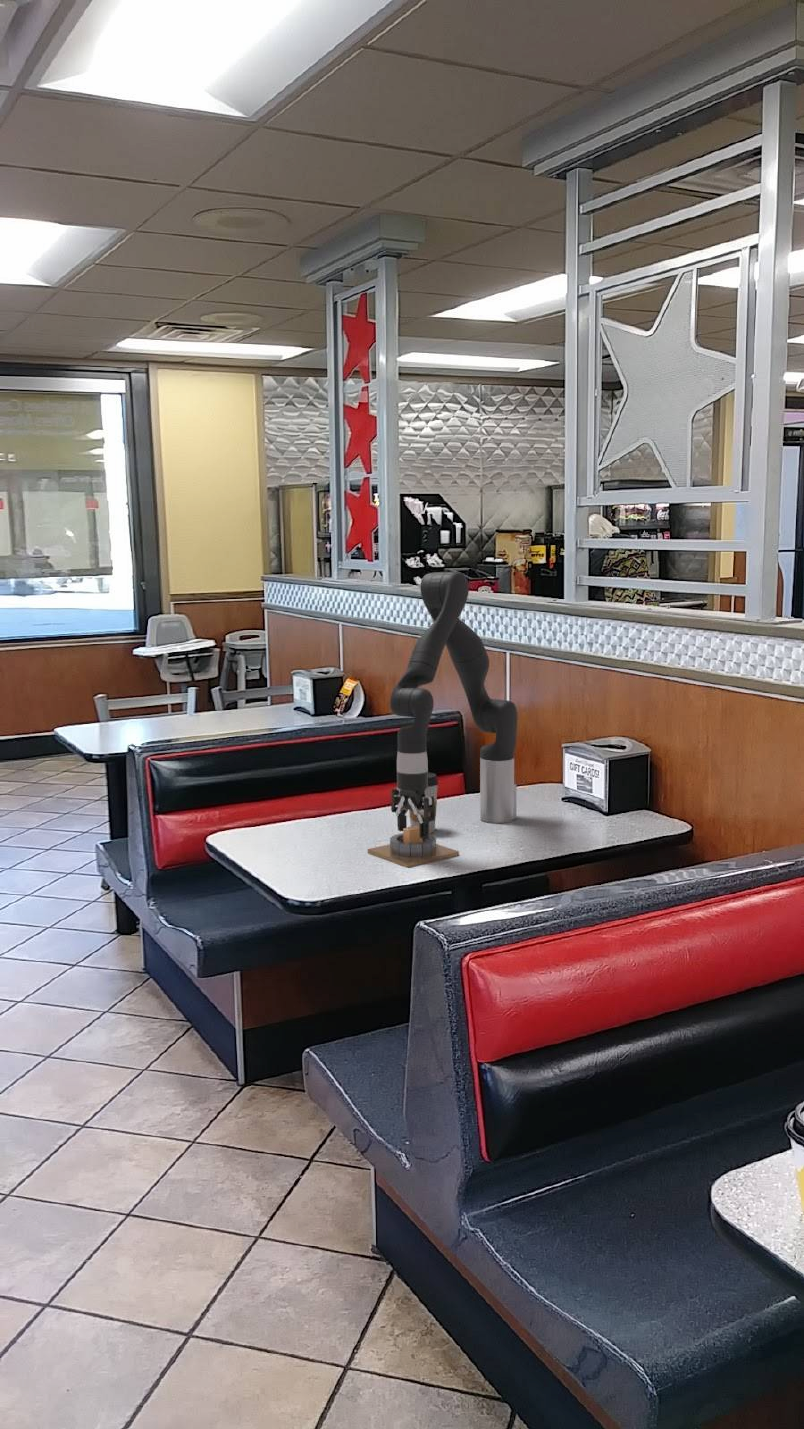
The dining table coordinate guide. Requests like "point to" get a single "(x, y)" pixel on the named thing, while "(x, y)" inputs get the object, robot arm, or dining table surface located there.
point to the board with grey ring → (412, 851)
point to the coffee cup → (429, 792)
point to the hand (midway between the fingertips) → (412, 834)
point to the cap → (411, 835)
